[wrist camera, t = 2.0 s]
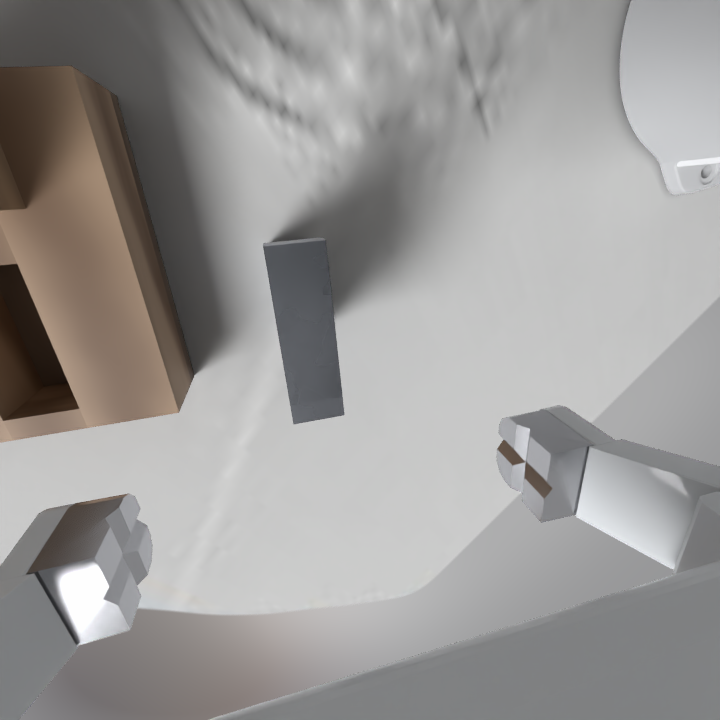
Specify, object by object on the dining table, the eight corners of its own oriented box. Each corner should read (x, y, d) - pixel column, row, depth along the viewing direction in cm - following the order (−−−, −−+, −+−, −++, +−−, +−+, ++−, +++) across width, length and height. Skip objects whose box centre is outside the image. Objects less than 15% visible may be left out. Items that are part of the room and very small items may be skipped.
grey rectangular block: (304, 223, 24) (325, 240, 15) (319, 342, 27) (344, 415, 18) (265, 227, 24) (263, 246, 15) (285, 347, 27) (293, 424, 18)
